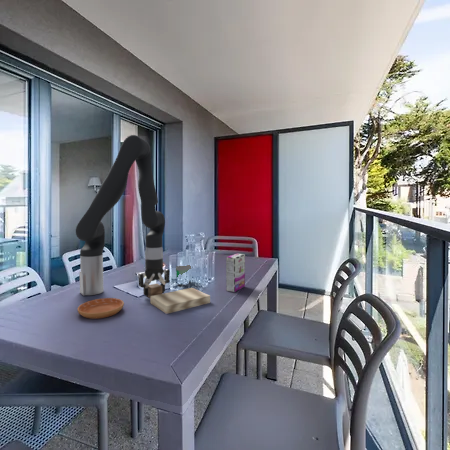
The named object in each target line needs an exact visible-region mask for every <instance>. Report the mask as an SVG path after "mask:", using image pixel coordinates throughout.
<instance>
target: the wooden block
mask: <svg viewBox="0 0 450 450" xmlns="http://www.w3.org/2000/svg"><path fill="white" fill-rule="evenodd" d="M149 299H150V305H152V306H153V307H155V308H157V309H158V310H160V311H162V313H165V314H166V315H167V314H171V313H175V312H179V311H180V312H181V311H183V310H188V309H191V308H195V307H199V306H203V305H207V304H210V303H211V295H210V294H207V293H205V292H202V291H200V290H199V289H196V288H194V287H190V288H189V287H188V288H183V289H180V290H173V291H170V292H164V293H162V294H159V295H154V296H150V298H149Z"/></svg>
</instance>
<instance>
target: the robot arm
mask: <svg viewBox="0 0 450 450" xmlns="http://www.w3.org/2000/svg"><path fill="white" fill-rule="evenodd" d="M151 156H152V155H151V146H150V144H149V142H148V141H147V140H145V139H144V138H142V137H140V136H139V135H137V134H130V135H128V136H127V137H125V139H124V140H123V141H122V144H121V146H120V148H119V151H118V153H117V156H116V158H115V160H114V162H113V164H112V166H111V167H110V168H109V169H110V170H109V171H108V173H107V176H106V177H105V178H104V180H103V182H102V184H101V186H100V188H99V189H98V191H97V192H96V195H95V196H94V198H93V200H92V202H91V204H90V205H89V208H88V209H87V210H86V212H85V213H84V215H83V216H82V218H80V220H79V222H78V223H77V225H76V226H75V227H76V228H75V236H76V237H77V238H78V240H80V241H83V242H85V243H84V245H83V246H82V248H80V250H79V257H80V259H79V260H80V271H79V273H78V274H79V293H80V294H81V295H82V296H83V297H84V296H94V295H95V296H96V295H100V294H102V293H104V261H103V260H104V258H103V257H104V249H105V244H106V243H105V241H106V239H105V236H106V232H105V226H104V223H103V222H102V219H103V218H104V217H105V216H106V214H108V212H110V211H111V210H112V209H113V208H114V207H115V206H116V205H117V203H118V202H120V199H121V198H122V196H123V194H124V192H125V190H126V188H127V185H128V179H129V173H130V169H131V167H132V166H133V164H134V162H135V163H136V166H137V170H138V179H137V189H138V193H139V198H140V203H141V220H142V224H143V225H144V227H146V228H148V229H149V232H148V233H147V234H146V235H145V251H144V255H145V257H144V258H145V259H144V263H145V265H144V266H145V271H144V272H138V273H137V276H138V277H137V278H138V280H137V281H138V286H139V287H140V288H142V289H143V290H142V291H143V295H144V296H145V297H147V296H148V286H149V285H151V283H152V282H154V281H159V283H160V284H159V285H161V286H162V294H164V293H166V284H168V283H169V282H170V274H171V273H170V271H171V270H170V269H168V268H164V249H163V248H164V247H163V235H164V232H165V231H164V230H165V225H166V217H165V216H164V214H163V213H162V212H161V211H158V210H156V206H157V205H158V203H159V199H158V195H157V194H158V193H157V190H156V186H155V180H154V175H153V167H152V157H151ZM163 275H164V278H163ZM145 276H146V278H145ZM144 278H145V280H144Z"/></svg>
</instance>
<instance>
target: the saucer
mask: <svg viewBox="0 0 450 450" xmlns="http://www.w3.org/2000/svg"><path fill="white" fill-rule="evenodd" d="M124 305H125V303H124V301H123V300H122V299H120V298H113V297H103V298H97V299H92V300H89V301H86V302H83V303H81V304H79V306H78V307H77V313H78V314H79V315H80V316H82V317H83V318H86V319H90V320H91V319H93V320H95V319H96V320H98V319H103V318H109V317H112V316H115V315H116V314H118V313H119V312H120V311H121V310H122V309H123V308H124Z"/></svg>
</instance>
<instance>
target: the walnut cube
mask: <svg viewBox="0 0 450 450" xmlns="http://www.w3.org/2000/svg"><path fill="white" fill-rule="evenodd" d="M159 294H163V293H162V286H161V285H160V284H159V283H152V284H151V283H150V284H149V286H148V296H147V297H148V298H149V299H150V296H154V295H159Z"/></svg>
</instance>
